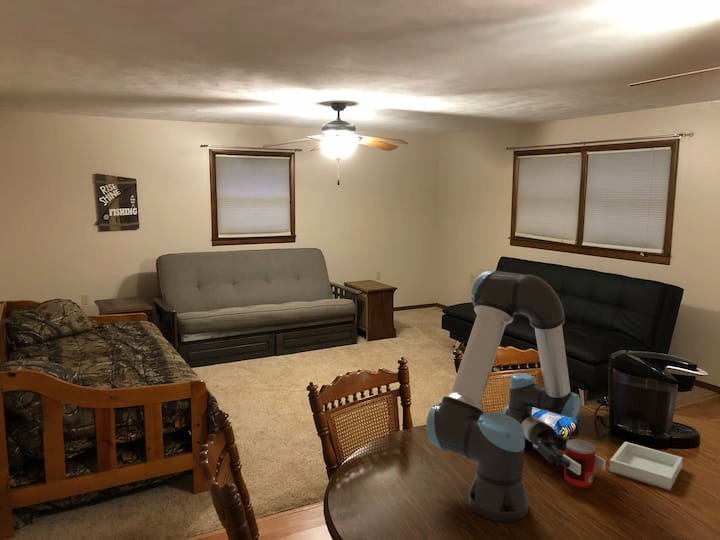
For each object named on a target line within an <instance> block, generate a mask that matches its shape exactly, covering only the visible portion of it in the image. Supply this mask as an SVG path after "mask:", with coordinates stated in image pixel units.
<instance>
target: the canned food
mask: <svg viewBox="0 0 720 540" xmlns="http://www.w3.org/2000/svg"><path fill="white" fill-rule="evenodd" d="M564 452H565V453H564V455H566V456H568V457H569V458H571V459H572V460H574V461H575V462H577V463H578V464H580V465H581V475H577V474H576V473H574V472H573V471H572V470H570V469H569V468H567V467H565V466H564V470H563V471H564V472H563V478H564V481H565V482H566V483H567V484H568V485H570V486H571V487H574V488H576V489H577V488H578V489H588V488H589V487H591V486H592V484H593V481H594V473H595V472H594V470H595V469H594V468H595V465H594V459H595V454H596V446H595V445H594V444H593V443H592V442H590V441H587V440H584V439H579V438H576V439H571V440H568V441H567V443H566V451H564Z"/></svg>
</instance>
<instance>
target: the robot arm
mask: <svg viewBox="0 0 720 540" xmlns="http://www.w3.org/2000/svg"><path fill="white" fill-rule="evenodd" d="M470 293H471V296H470V298H471V303H472V305H473V310H474V313H475V315H476V317H475V320H474V323H473V325H472V329H471V332H470V335H469V338H468V341H467V345H466V347H465V350H464V352H463V355H462V358H461V362H460V364H459V367H458V371H457V373H456V376H455V379H454V381H453V385H452V387H451V390H450V392H449V393H448V394H445V395H443V397H442V399H441V400H442V401H441V402H438V403H437V402H436V403H434V404H433V405H432V407H430V409H429V411H428V414H427V418H426V422H425V423H426V425H425V426H426V433H427V438H428V440H429V441H430V443H431V444H432V445H434V446H435V447H437V448H439V449H442V450H443V451H444V452H450V453H452V454H455V455H457V456H460V457H463V458H465V459H467V460H471V461H474V462H475V463H476V472H475V473H476V474H475V475H474V479H473V481H472V483H471V486H470V489H469V491H468V505H469V507H470V508H471V509H472V511H473V512H475V513H476V514H477V515H479V516H480V517H483V518H484V519H488V520H492V521H495V522H503V523H506V522H507V523H508V522H515V521H519V520H521V519H523V518H524V517H526V516H527V514H528V513H529V512H528V511H529V499H528V495H527V491H526V488H525V485H524V482H523V476H524V460H525V459H524V456H525V446H526V440H527V441H528V442H530V443H531V444H532V450H534V451H537V453H539V454H540V455H541V456H542V457H543V458H544V459H545V460H546V461H548V462H549V464H553V465H554V464H555V463H556V466H557V467H561V466H564V468H565V467H567V468H569V469H570V470H572V471H573V472H574V473H576V474H577V475H581V465H580V464H578V463H577V462H575V461H574V460H572V459H571V458H569V457H568V456H566V455H565V454H562V453H561V452H560V451H559V450H561V451H563V452H566V443H567V441H568V440H571V439H577V438H575V437H573V436H572V435H571V434H570V433H569V434H566V436H562V435H560V434H558V433H557V432H556V430H555V429H554V427H552V426H551V425H549V424H547V422H546V423H545V421H542V420H541V419H539V418H537V417H536V416H534V415H533V409H534V408H535V409H537V410H541V411H546V412H547V413H551V414H555V415H558V416H561V417H566V418H576V417H577V416H578V414H579V412H580V409H581V404H582V403H581V402H582V399H581V397H580V395H579V394H578V393H574V392H572V391H571V386H570V377H569V370H568V364H567V363H568V362H567V355H566V354H567V353H566V347H565V346H566V345H565V339H564V332H563V331H564V330H563V325H564V324H565V320H566V317H565V311H564V307H563V304H562V302H561V300H560V297H559V296H558V294H557V293H556V291H555V290H554V289H553V288H552V286H551V285H550V284H549V283H548V282H547V281H545V280H544V279H542V278H541V277H539V276H536V275H534V274H525V273H524V274H523V273H516V272H506V271H502V270H486V271H484V272H482V273H480V274H479V275H478V276H477V277H476V278H475V280H474V282H473V285H472V288H471V292H470ZM515 315H522V316H523V315H524V316H525V317H528V320H529V324H530V326H531V327H532V328H533V329H534V332H535V338H536V345H537V351H538V357H539V363H540V368H541V369H540V370H541V375H542V381H543V385H541V384H538V383H536V382H535V377H534V376H533V375H531V374H529V373H525V372H523V373H522V372H515V373H513V374H512V375H511V376H510V380H509V387H508V388H509V391H508V392H509V393H508V394H509V395H508V405H506V406H504V409H503V410H502V412H497V413H496V412H495V411H486V412H485V410H484V408H483V407H482V404H481V403H482V400H483V397H484V394H485V391H486V388H487V384H488V382H489V379H490V378H489V377H490V375H491V372H492V369H493V366H494V363H495V359H496V356H497V353H498V350H499V349H500V344H501V341H502V338H503V335H504V331H505V329H506V326H507V325H509V324H511V323H512V322H513V321H514V318H515ZM606 461H607V460H606V459H604V458H603V457H601V456H599V454H596V453H595V459H594V466H596V467H597V468H599V469H601V470H602V471H604V470H606Z"/></svg>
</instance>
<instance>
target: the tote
mask: <svg viewBox="0 0 720 540" xmlns="http://www.w3.org/2000/svg"><path fill="white" fill-rule="evenodd" d="M683 460H684V459H683V457H682V456H680V455H674V454H671V453H668V452H664V451H662V450H657V449H653V448H651V447H650V448H649V447H647V446H643V445H641V444H640V445H639V444H635V443H631V442H629V441H624V442H623V443H622V444H621V446H620V447H619V448H618V449H617V451H616V452H615V453H614V455H613V456H611V458H610V459H609V466H608V468H609V469H608V471H609V472H611V473H614V474H616V475H620V476H624V477H626V478H630V479H633V480H636V481H639V482H643V483H646V484H648V485H650V486H651V485H652V486H655V487H657V488H658V487H659V488H662V489H665V490H667V491H672V488H673V486H674V484H675V482H676V480H677V478H678V476H679V474H680V472H681V470H682V467H683Z"/></svg>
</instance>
